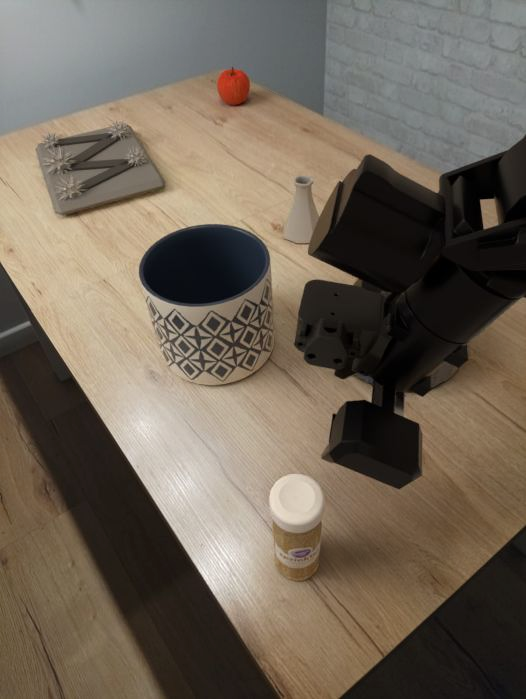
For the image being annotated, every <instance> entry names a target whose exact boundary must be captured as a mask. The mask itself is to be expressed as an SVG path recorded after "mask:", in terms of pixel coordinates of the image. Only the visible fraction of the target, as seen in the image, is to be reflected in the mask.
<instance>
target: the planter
mask: <svg viewBox="0 0 526 699" xmlns="http://www.w3.org/2000/svg"><path fill="white" fill-rule="evenodd" d="M138 279H139V282H140V287H141V290H142V293H143V297H144V300H145V304H146V307H147V310H148V314H149V318H150V320H151V324H152V328H153V331H154V335H155V338H156V341H157V345H158V348H159V352H160V354H161V357H162V360H163V362H164V364H165V365H166V367H167V368H168V369H169V370H170V371H171V372H172V373H173V374H175V375H176V376H178V377H179V378H181V379H182V380H185V381H187V382H191V383H194V384H198V385H205V386H208V385H209V386H219V385H226V384H230V383H235V382H237V381H240V380H242V379H243V380H244V378H247V377H249V376H251V375H252V374H254V373H255V372H256V371H258V370H259V369H260V368H261V367H262V366H263V365H264V364H265V363H266V362H267V361H268V359H269V358H270V356H271V354H272V352H273V348H274V344H275V321H274V320H275V319H274V317H275V316H274V299H273V298H274V297H273V279H272V263H271V255H270V251H269V249H268V247H267V245H266V244H265V243H264V241H263V240H262V239H261V238H259V236H257V235H256V234H254V233H252V232H251V231H250V230H249V231H248V230H247V229H244V228H241V227H238V226H234V225H230V224H221V223H205V224H196V225H191V226H187V227H184V228H180V229H178V230H174V231H173V232H170V233H168V234H165V235H164V236H162V237H161V238H159V239H158V240H156V241H155V242H154V243H153V244H152V245H151V246H149V248H147V250H146V251H145V252H144V253H143V256H142V257H141V259H140V262H139V265H138Z"/></svg>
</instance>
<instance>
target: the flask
mask: <svg viewBox="0 0 526 699" xmlns="http://www.w3.org/2000/svg"><path fill="white" fill-rule="evenodd" d="M313 184H314V176H311V175H309V174H298V175H296V176H295V177H294V178H293V185H294V186H295V191H294V196H293V201H292V204H291V206H290V210H289V213H288V215H287V217H286V220H285V222H284V225H283V228H282V232H283V233H282V236H283V239H285V240H288V241H290V242H293V243H295V244H309V243H310V240H311V237H312V234H313V231H314V229H315V226H316V224H317V221H318V219H319V217H320V214H319V212H318V208H317V206H316V204H315V201H314V197H313V192H312V185H313Z"/></svg>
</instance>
